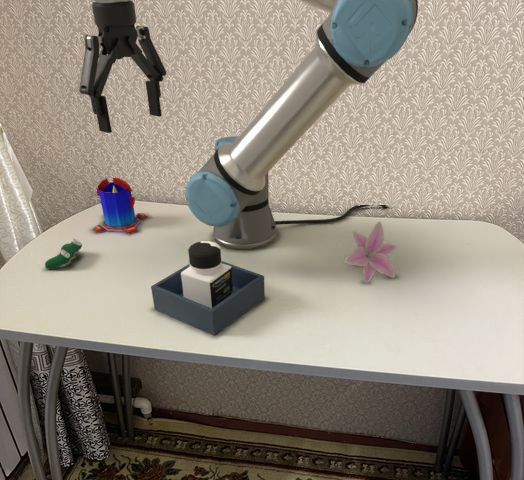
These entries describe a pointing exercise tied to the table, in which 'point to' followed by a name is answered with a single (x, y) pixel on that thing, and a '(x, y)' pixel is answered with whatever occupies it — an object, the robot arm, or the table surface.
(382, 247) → the lily
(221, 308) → the tote
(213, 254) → the medicine bottle
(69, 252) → the gaming controller
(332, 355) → the table surface
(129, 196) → the fantasy tower
